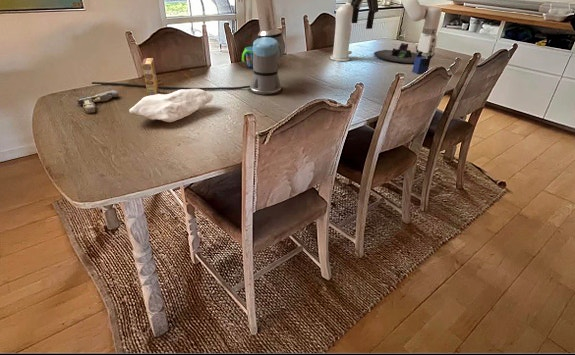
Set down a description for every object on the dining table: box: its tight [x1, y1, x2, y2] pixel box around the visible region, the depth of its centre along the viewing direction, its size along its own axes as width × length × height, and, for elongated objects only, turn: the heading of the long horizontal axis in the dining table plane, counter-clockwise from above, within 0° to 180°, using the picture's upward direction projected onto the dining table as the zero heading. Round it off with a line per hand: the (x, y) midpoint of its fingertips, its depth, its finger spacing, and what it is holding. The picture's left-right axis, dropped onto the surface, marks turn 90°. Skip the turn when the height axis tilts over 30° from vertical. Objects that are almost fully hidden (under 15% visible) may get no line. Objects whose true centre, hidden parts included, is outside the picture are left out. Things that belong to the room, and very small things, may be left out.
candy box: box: [141, 57, 160, 96], centre depth 163 cm, size 9×4×15 cm, turn 13°
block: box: [411, 55, 431, 75], centre depth 212 cm, size 5×7×8 cm
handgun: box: [76, 89, 120, 114], centre depth 155 cm, size 3×18×15 cm
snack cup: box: [241, 45, 253, 69], centre depth 208 cm, size 16×10×10 cm
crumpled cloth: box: [129, 89, 214, 123], centre depth 147 cm, size 24×35×9 cm
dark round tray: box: [373, 42, 417, 64], centre depth 240 cm, size 35×35×9 cm
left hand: (361, 25), depth 167 cm, fingers open, 13 cm apart
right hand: (422, 63), depth 211 cm, fingers open, 6 cm apart
